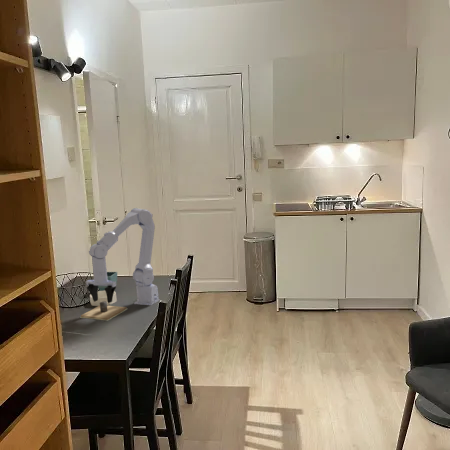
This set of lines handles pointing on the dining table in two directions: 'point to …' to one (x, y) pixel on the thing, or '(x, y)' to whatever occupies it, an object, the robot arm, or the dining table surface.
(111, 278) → the flower pot
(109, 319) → the mat
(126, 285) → the dining table surface
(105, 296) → the bowl
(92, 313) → the lid
